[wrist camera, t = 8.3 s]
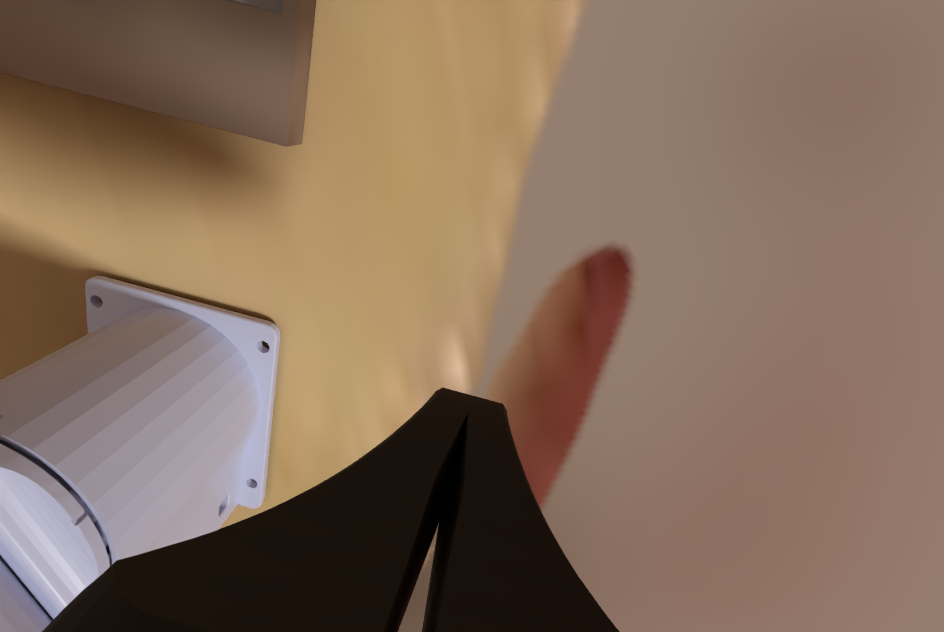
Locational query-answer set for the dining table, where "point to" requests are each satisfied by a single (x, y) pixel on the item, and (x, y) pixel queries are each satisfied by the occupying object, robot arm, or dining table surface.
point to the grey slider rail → (172, 57)
